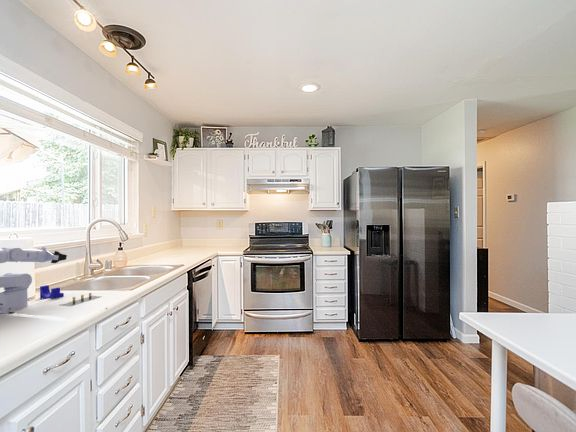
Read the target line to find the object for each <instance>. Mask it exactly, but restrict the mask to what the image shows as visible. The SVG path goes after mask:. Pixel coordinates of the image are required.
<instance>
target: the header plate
mask: <svg viewBox="0 0 576 432" xmlns="http://www.w3.org/2000/svg"><path fill="white" fill-rule="evenodd" d="M100 298H102V296H101V295H98V296H97V295H91V299H89V295H88V296H85V297H84V301H81V298H77V299H75V303H73V300H71V301H68V302H64V303H61V304H59V306H63V307H66V306H67V307H72V306H76V305H80V304H82V303H86V302H89V301H93V300H96V299H100Z"/></svg>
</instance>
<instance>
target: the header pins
mask: <svg viewBox="0 0 576 432" xmlns="http://www.w3.org/2000/svg"><path fill="white" fill-rule="evenodd" d="M84 296H85V295H84V294H81V295H80V299H81V301H84V298H85V297H84ZM88 296H89V299H91V296H92V292H89V293H88ZM75 300H76V296H73V297H72V301H73V303H75Z"/></svg>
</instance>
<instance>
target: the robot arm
mask: <svg viewBox="0 0 576 432" xmlns="http://www.w3.org/2000/svg"><path fill="white" fill-rule="evenodd" d="M67 256H68V255H67V254H63V253H61V252H60V251H56V250H54V252H51V251H48V250H47V247H46V246H42V247H41V248H20V247H1V248H0V264H4V263H7V262H9V263H10V262H11V263H14V262H15V263H18V262H20V263H23V262H24V263H28V262H29V263H46V262H49V261H50V263H51V264H57V263H59V262H61V261H65V260H67V258H68V257H67ZM32 282H33V277H32V275H31V274H29V273H11V272H8V273H7V272H6V273H5V274H3V275H2V274H1V275H0V289H1V288H3V291H2V292H0V314H4V315H11V314H14V313H16V312H15V311H14V310H20V309H23V308H24V309H25V308H26V307H28V289H29V287H30V286H31V284H32Z"/></svg>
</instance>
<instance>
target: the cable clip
mask: <svg viewBox="0 0 576 432" xmlns="http://www.w3.org/2000/svg"><path fill="white" fill-rule="evenodd" d="M39 296H40V297H39V299H41V298H43V299H42V300H47V299H52V300H54V299H58V298H63V297H64V296H65V294H64V292H61V287H52V288H51V289H50V285H49V284H45V285H41V286H39Z"/></svg>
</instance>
